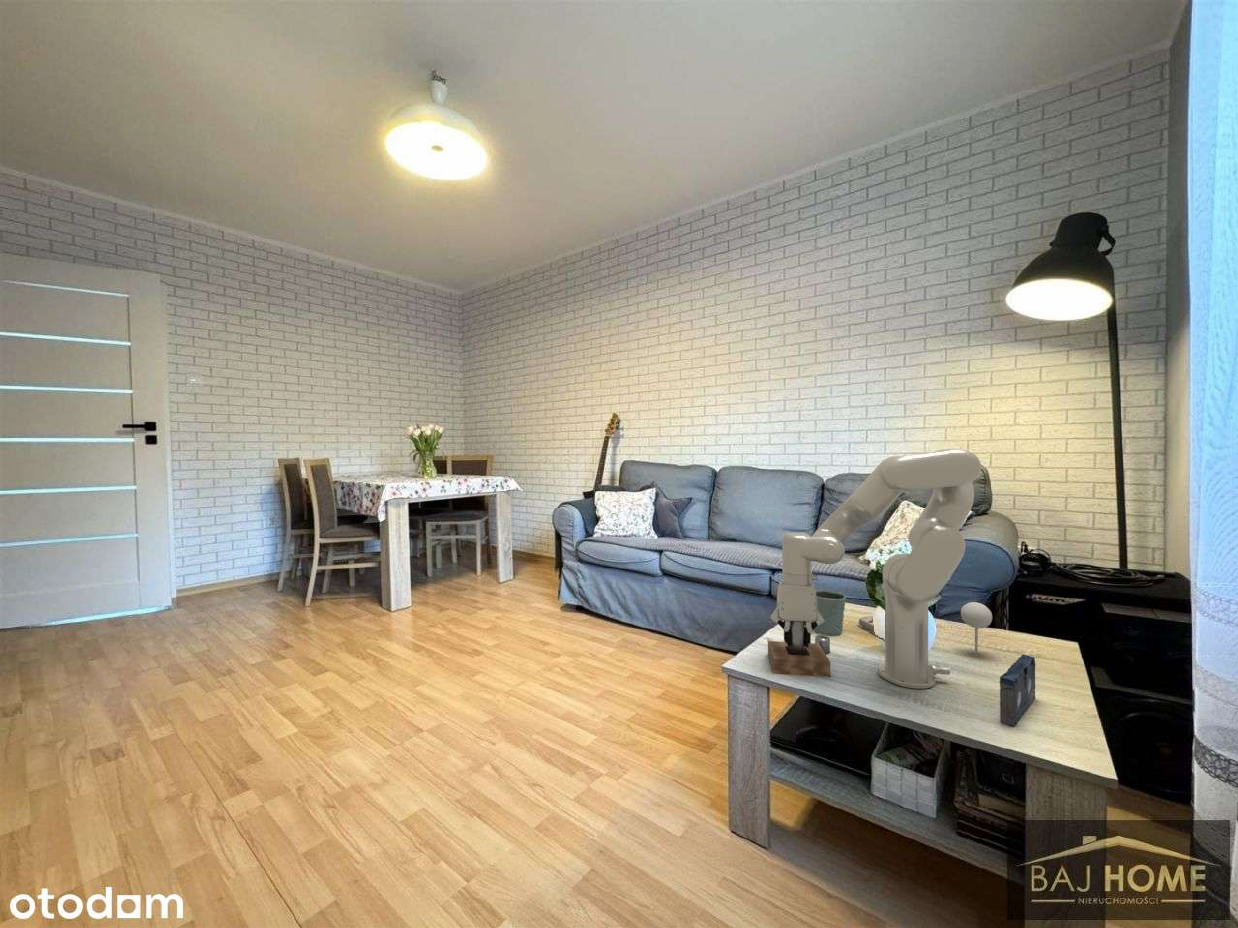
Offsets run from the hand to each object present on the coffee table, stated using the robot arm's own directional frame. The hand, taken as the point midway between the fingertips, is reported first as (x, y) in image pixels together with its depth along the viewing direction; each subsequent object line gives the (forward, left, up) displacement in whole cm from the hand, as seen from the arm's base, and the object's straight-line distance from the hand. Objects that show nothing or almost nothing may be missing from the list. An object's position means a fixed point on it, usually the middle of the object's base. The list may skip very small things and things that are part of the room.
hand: (797, 644), depth 130 cm
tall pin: (0, 0, -5) cm, 5 cm away
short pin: (-9, -10, -6) cm, 15 cm away
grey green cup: (-15, -27, -6) cm, 32 cm away
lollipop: (-51, -13, -6) cm, 53 cm away
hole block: (0, 0, -6) cm, 6 cm away
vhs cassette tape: (-44, +17, -6) cm, 48 cm away
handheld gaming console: (-32, -28, -6) cm, 43 cm away
